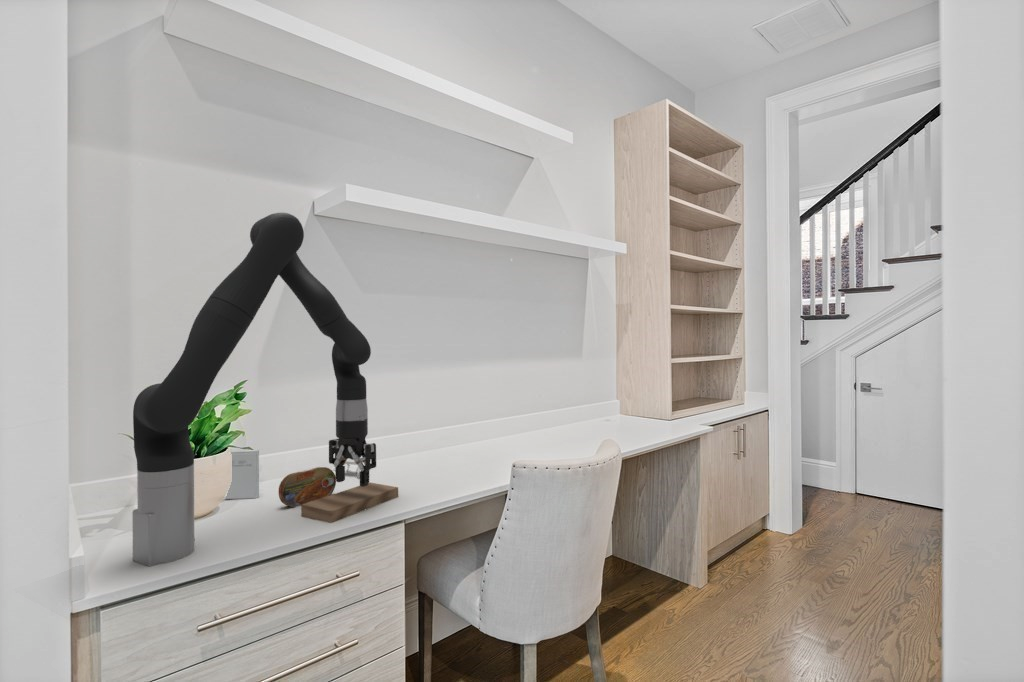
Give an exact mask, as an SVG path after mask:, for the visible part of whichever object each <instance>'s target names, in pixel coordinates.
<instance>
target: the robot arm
mask: <svg viewBox="0 0 1024 682" xmlns="http://www.w3.org/2000/svg"><path fill="white" fill-rule="evenodd" d="M304 237H305V233H304V228H303V224H302V223H301V221H300V220H299V219H298V218H297V217H296V216H295V215H293V214H291V213H288V212H275V213H271V214H269V215H267V216H265V217H262V218H260V219H259V220H257V221H256V222H255V223H253V225H252V227H251V228H250V232H249V238H250V242H251V244H252V246H251V248H250V249H249V251H248V253H247V254H246V256H245V257H244V259H242V261H241V262H240V263H239V264H238V265H237V266H236V267H235V268H234V269H233V270H232V271H231V272H230V273H229V274H228V275H227V276H226V277H225V278H224V279H223V280H222V281H221V283H219V285H217V287H216V288H215V289H214V290H213V291H212V293H211V294H210V295H209V297H208V298H207V300H206V301H205V303H203V304H204V305H203V306H202V307H201V309H200V310H199V312H198V314H197V316H196V317H195V319H194V321H193V324H192V325H191V329H190V331H189V334H188V337H187V339H186V340H187V341H186V344H185V346H184V350H183V351H182V354H181V356H180V357H179V359H178V361H176V364H175V365H174V366H173V368H172V369H171V371H170V372H169V373H168V374H167V376H166V377H165V378H164V379H163V381H162V382H160V383H155V384H152V385H149V386H147V387H146V388H144V389H143V390H141V391H140V392H139V394H138V395H137V396H136V399H135V401H134V402H133V403H134V404H133V410H132V424H133V425H132V426H133V449H134V453H135V458H136V465H137V466H136V467H137V468H136V471H137V474H136V476H137V477H136V481H137V483H136V484H137V485H136V486H137V492H136V493H137V508H135V509H133V510H132V513H131V515H132V561H134V562H136V563H139V564H142V565H144V566H147V567H153V566H156V565H161V564H167V563H171V562H176V561H179V560H181V559H184V558H187V557H189V556H190V555H191V554H193V553H194V551H195V541H196V539H195V452H194V449H193V446H192V444H191V441H190V433H189V426H190V425H192V423H193V422H194V421H195V420H196V418H197V416H198V414H199V412H200V410H201V408H202V407H203V403H204V402H205V400H206V397H207V395H208V394H209V392H210V390H211V387H212V384H213V382H214V381H215V379H216V377H217V376H218V374H219V373H220V370H221V369H222V368H223V366H224V365H225V363H226V362H227V361H228V359H229V358H230V356H231V354H233V352H234V350H235V348H236V346H237V345H238V344H239V342H240V340H241V339H242V338H243V336H244V335H245V333H246V331H248V328H249V327H250V325H251V323H252V322H253V321H254V319H255V317H256V315H257V313H258V311H259V310H260V308H261V307H262V304H263V303H264V301H265V299H266V297H268V294H269V293H270V290H271V289H272V287H273V285H274V283H275V281H276V279H277V278H278V276H279V277H280V278H281V279H282V280H283V282H284V283H285V284H286V285H287V287H288V288H289V289H290V290H291V291H292V293H293V294H294V295H295V296H296V298H297V299H298V300H299V303H300V304H301V305H302V306H303V307H304V309H305V311H306V312H307V313H308V315H309V316H310V318H311V319H312V321H313V322H314V324H315V325H316V327H317V328H318V330H319V331H320V332H321V333H322V334H323V336H326V337H328V338H330V339H331V340H332V341H333V342H334V343H333V346H332V349H331V361H332V366H333V367H332V368H333V371H334V376H335V380H336V405H335V436H336V438H333V439H330V440H328V463H329V464H332V465H333V466H334V468H335V471H334V472H335V473H334V474H335V477H336V483H341V482H344V481H345V480H346V466H345V465H346V464H345V462H346V460H347V459H348V458H350V459H352V460H354V461H355V463H356V464H358V465H357V467H358V466H359V468H360V474H359V486H362V487H364V486H367V485H368V483H370V470H372V469H374V468H376V467H377V445H376V443H375V442H374V443H367V442H366V437H367V436H368V435H369V432H368V430H369V429H368V428H369V427H368V425H369V423H368V419H369V418H368V417H369V416H368V402H367V400H368V399H367V380H366V377H365V376H364V375H362V373H361V371H360V365H364V364H366V363H367V362H368V361H369V360H370V358H371V353H372V349H371V346H370V343H369V341H368V339H367V337H366V336H365V335H364V334H363V333H362V332H361V330H359V328H358V327H357V326H356V325H355V324H354V323H353V322H352V321H351V320H350V319H349V317H347V315H346V313H345V312H344V310H343V309H342V306H340V304H339V303H338V301H337V299H336V297H334V295H333V294H332V292H331V291H330V290H329V289H328V288H327V287H326V286H325V285H324V284H323V283H322V282H321V281H320V280H318V278H317V277H316V276H314V274H312V273H311V272H310V270H309V269H308V268H307V267H306V266H305V264H304V263H303V262H302V260H301V258H300V256H299V255H298V251H299V249H300V248H301V247H302V245H303V241H304Z"/></svg>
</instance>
